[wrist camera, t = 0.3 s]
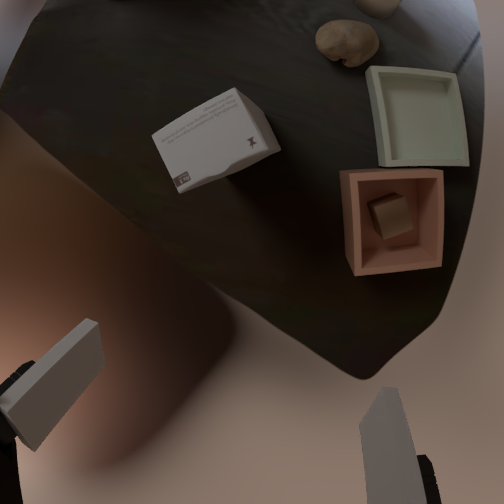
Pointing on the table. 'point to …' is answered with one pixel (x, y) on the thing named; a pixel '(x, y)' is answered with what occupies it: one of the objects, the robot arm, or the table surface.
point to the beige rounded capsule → (377, 7)
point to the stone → (347, 41)
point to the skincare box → (215, 140)
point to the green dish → (417, 117)
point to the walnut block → (390, 215)
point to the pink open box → (405, 244)
